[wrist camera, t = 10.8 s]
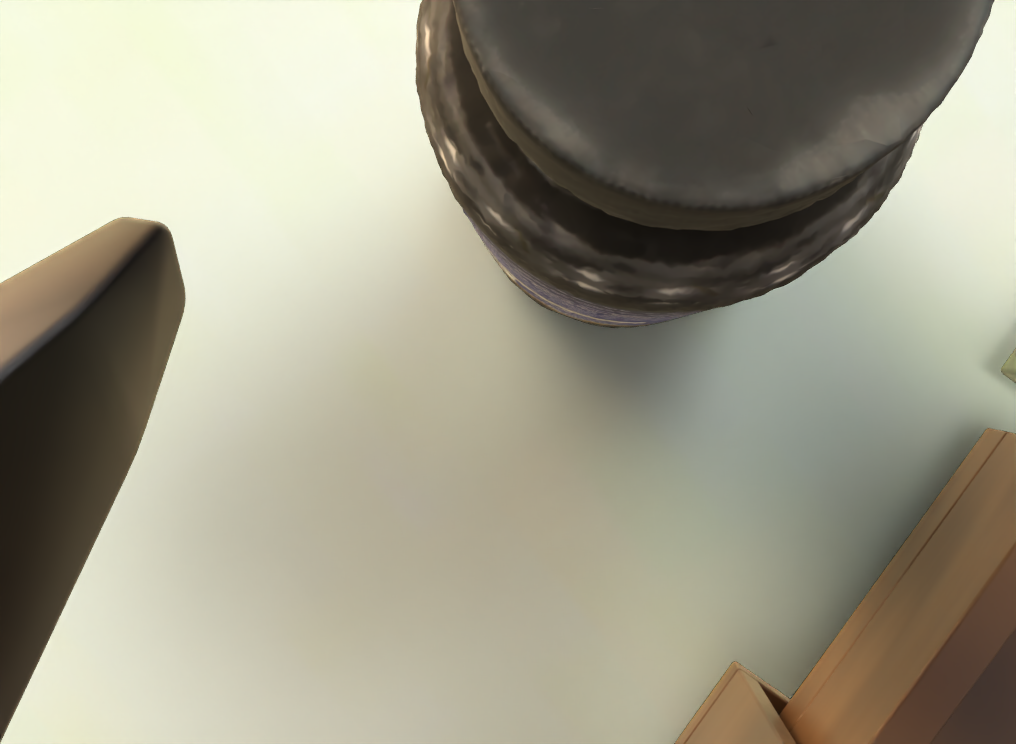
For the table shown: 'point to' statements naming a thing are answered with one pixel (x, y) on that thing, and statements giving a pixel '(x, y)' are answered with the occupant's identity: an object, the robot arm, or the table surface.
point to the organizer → (739, 712)
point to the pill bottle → (678, 136)
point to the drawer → (931, 625)
